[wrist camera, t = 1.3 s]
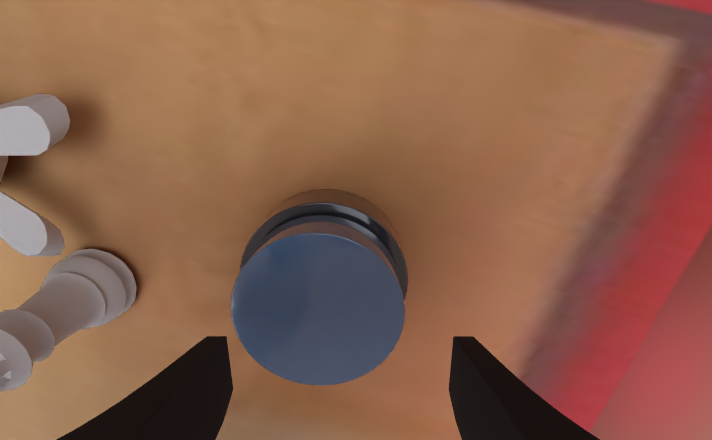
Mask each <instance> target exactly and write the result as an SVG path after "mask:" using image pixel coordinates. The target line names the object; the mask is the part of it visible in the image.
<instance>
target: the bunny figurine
mask: <svg viewBox="0 0 712 440" xmlns="http://www.w3.org/2000/svg"><path fill="white" fill-rule="evenodd" d="M69 125H70V118H69V115H68V111H67V108H66V106H65V105H64V104H63V103H62V102H61V101H60V100H59V99H58V98H57V97H55V96H54V95H47V94H36V95H32V96H28V97H25V98H21V99H18V100H14V101H11V102H7V103H3V104H0V183H1V180H2V177H3V174H4V171H5V168H6V165H7V162H8V156H18V155H39V154H41V153H43V152H44V151H46V150H47V149H49V148H50V147H52V146H53V145H55V144H56V143H57V142H59V141H60V140H62V139H63V138H64V137H65V135H66V133H67V131H68V129H69ZM0 238H1V239H2V240H4V241H5V242H6V243H7V244H8V245H10V246H11V247H12V248H13V249H15V250H16V251H18V252H20V253H21V254H23V255H25V256H54V255H60V253H61V252H62V250H63V248H64V247H65V245H64V238H63V236H62V234H61V231H60V230H59V229H58V228H57V227H56V226H55V225H54V224H53V223H51V222H50V221H49V220H47V219H46V218H44V217H43V216H41V215H39V214H38V213H36V212H34V211H33V210H31V209H30V208H28V207H26V206H25V205H23V204H21V203H20V202H18V201H16V200H15V199H13V198H12V197H10V196H8V195H7V194H5V193H4V192H2V191H0Z"/></svg>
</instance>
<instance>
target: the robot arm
mask: <svg viewBox="0 0 712 440" xmlns="http://www.w3.org/2000/svg"><path fill="white" fill-rule="evenodd" d="M232 391H233V384H232V376H231V368H230V361H229V353H228V345H227V337H226V336H207V337H206V338H204V339H203V340H202V341H200V342H199V343H198V344H196V345H195V346H194V347H192V348H191V349H190V350H189V351H187V352H186V353H185V354H184V355H182V356H181V357H180V358H178V359H177V360H176V361H175V362H173V363H172V364H171V365H169V366H168V367H167V368H165V369H164V370H163V371H162V372H160V373H159V374H158V375H156V376H155V377H154V378H152V379H151V380H150V381H148V382H147V383H145V384H144V385H143V386H141V387H140V388H138V389H137V390H136V391H134V392H133V393H131V394H130V395H129V396H127V397H126V398H124V399H123V400H121V401H120V402H118V403H117V404H115V405H114V406H112V407H111V408H109V409H108V410H106V411H105V412H103V413H102V414H100V415H98V416H97V417H95V418H93V419H92V420H90V421H88V422H87V423H85V424H84V425H82V426H80V427H78V428H77V429H75V430H73V431H71V432H70V433H68V434H66V435H64V436H62V437H60V438H59V439H57V440H215V439H216V437H217V435H218V432H219V430H220V428H221V426H222V423H223V421H224V418H225V415H226V411H227V408H228V405H229V402H230V398H231V395H232ZM449 393H450V397H451V402H452V407H453V411H454V415H455V419H456V423H457V426H458V429H459V432H460V435H461V438H462V440H600V439H598V438H596V437H595V436H593V435H592V434H590V433H589V432H587V431H586V430H584V429H583V428H581V427H580V426H579V425H577V424H576V423H574V422H573V421H571V420H570V419H569V418H567V417H566V416H564V415H563V414H562V413H560V412H559V411H558V410H556V409H555V408H554V407H552V406H551V405H550V404H548V403H547V402H546V401H545V400H543V399H542V398H541V397H540V396H538V395H537V394H536V393H535V392H533V391H532V390H531V389H530V388H529V387H527V386H526V385H525V384H524V383H523V382H522V381H520V380H519V379H518V378H517V377H516V376H515V375H514V374H513V373H511V372H510V371H509V370H508V369H507V368H506V367H505V366H504V365H503V364H502V363H501V362H499V361H498V360H497V359H496V358H495V357H494V356H493V355H492V354H491V353H490V352H489V351H488V350H487V349H486V348H485V347H484V346H483V345H482V344H481V343H479V342H478V341H477V340H476V339H475V338H474V337H454V338H453V349H452V360H451V371H450V382H449Z"/></svg>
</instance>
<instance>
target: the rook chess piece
mask: <svg viewBox="0 0 712 440" xmlns="http://www.w3.org/2000/svg"><path fill="white" fill-rule="evenodd" d="M136 288H137V287H136V283H135V279H134V276H133V273H132V271H131V270H130V269H129V267H128V266H127V265H126V264H125V262H124V261H122V260H121V259H119V258H118V257H116V256H115V255H113V254H111V253H108V252H104V251H100V250H96V249H85V250H77V251H76V252H74V253H72V254H70V255H69V256H67V257H66V258H65V259H63V260H62V261H60V262H58V263H57V264H55V265H54V266H53V267H52V268H51V270H50V272H49V273H48V275H47V276H46V278H45V281H44V282H43V284H42V286H41V287H40V290H39V291H38V292H37V293H36V294H35V295H33V296H32V297H31V298H30V299H28V300H27V301H26V302H25V303H23V304H22V305H21V306H20V307H18V308H16V309H14V310H5V311H3V312H1V313H0V392H1V391H6V390H14V389H16V388H18V387H20V386H22V385H24V384H25V383H26V381H27V380H28V378H29V377H30V375H31V373H32V367H33V362H40V361H42V360H44V359H46V358H48V357H49V356H50V354H51V353H52V351H53V350H54V346H56V345H57V344H58V343H59V342H61V341H62V340H64V339H65V338H67V337H68V336H70V335H72V334H73V333H75V332H77V331H78V330H81V329H89V328H91V327H95V326H102V325H104V324H107V323H108V322H110V321H112V320H114V319H116V318H118V317H119V315H120V314H122V313H123V312H125V311H127V310H128V309H129V308H130V306H131V305H132V304H133V302H134V301H135V296H136Z"/></svg>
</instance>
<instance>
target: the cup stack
mask: <svg viewBox="0 0 712 440" xmlns="http://www.w3.org/2000/svg"><path fill="white" fill-rule="evenodd" d="M407 285H408V275H407V267H406V262H405V259H404V255H403V252H402V248H401V245H400V242H399V239H398V236H397V234H396V231H395V230H394V228H393V226H392V224H391V223H390V221H389V220H388V219H387V217H386V216H385V215H384V214H383V213H382V212H381V211H380V210H379V209H378V208H377V207H375V206H374V205H373V204H372V203H370V202H368V201H367V200H365V199H363V198H361V197H359V196H357V195H354V194H351V193H348V192H344V191H339V190H329V189H321V190H312V191H308V192H304V193H301V194H298V195H296V196H293V197H291V198H289V199H288V200H286V201H284V202H283V203H281V204H280V205H279V206H277V207H276V208H275V209H274V210H273V211H272V212H271V213H270V214H269V215H268V217H267V218H266V219H265V220H264V222H263V223H262V224H261V225H260V227H259V228H258V229H257V231H256V232H255V233H254V234H253V236H252V237H251V239H250V240H249V242H248V244H247V246H246V248H245V251H244V253H243V256H242V260H241V265H240V273H239V275H238V277H237V279H236V282H235V284H234V287H233V291H232V296H231V316H232V321H233V325H234V329H235V331H236V334H237V336H238V338H239V340H240V342H241V343H242V345H243V347H244V348H245V349H246V351H247V352H248V353H249V354H250V355H251V356H252V357H253V358H254V359H255V361H257V362H258V363H259V364H260V365H262V366H263V367H264V368H266V369H267V370H269V371H270V372H272V373H274V374H276V375H278V376H280V377H282V378H284V379H287V380H290V381H293V382H297V383H301V384H308V385H335V384H340V383H345V382H348V381H351V380H354V379H357V378H359V377H361V376H363V375H365V374H367V373H368V372H370V371H372V370H373V369H375V368H376V367H377V366H378V365H380V364H381V363H382V362H383V361H384V360H385V359H386V358H387V357H388V356H389V354H390V353H391V352H392V350H393V349H394V347H395V345H396V344H397V342H398V340H399V337H400V335H401V332H402V329H403V325H404V318H405V305H404V301H405V297H406V293H407Z"/></svg>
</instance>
